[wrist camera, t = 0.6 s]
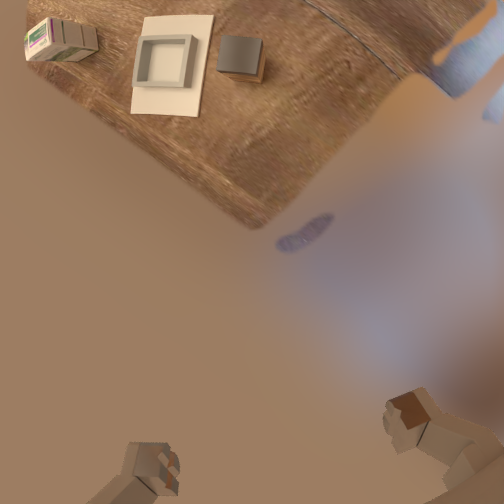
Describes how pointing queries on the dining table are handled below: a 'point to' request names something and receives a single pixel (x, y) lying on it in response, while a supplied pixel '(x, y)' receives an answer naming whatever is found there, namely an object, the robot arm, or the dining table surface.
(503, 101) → the dining table surface
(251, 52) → the tool handle
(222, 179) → the dining table surface
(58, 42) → the syrup box
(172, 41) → the caddy
